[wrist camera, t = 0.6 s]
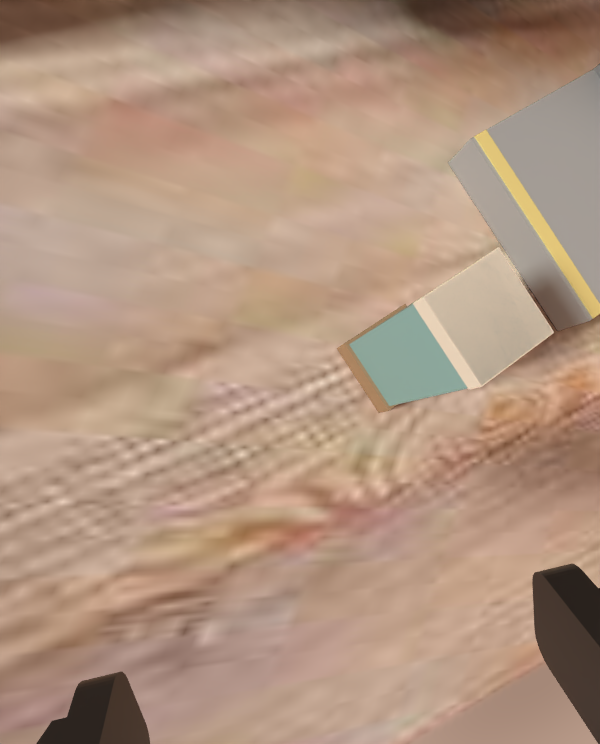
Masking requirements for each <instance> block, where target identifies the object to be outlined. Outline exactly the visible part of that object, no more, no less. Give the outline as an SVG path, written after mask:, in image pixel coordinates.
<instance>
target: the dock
mask: <svg viewBox="0 0 600 744" xmlns="http://www.w3.org/2000/svg"><path fill="white" fill-rule="evenodd" d="M448 164H449V165H450V167H451V168H452V170H453V171H454V173H455V174H456V176H457V178H458V179H459V181H460V182H461V184H462V185H463V187H464V188H465V190H466V191H467V193H468V194H469V196H470V197H471V199H472V201H473V202H474V204H475V205H476V207H477V208H478V210H479V211H480V213H481V214H482V216H483V217H484V219H485V220H486V222H487V224H488V225H489V227H490V228H491V230H492V231H493V233H494V234H495V236H496V237H497V239H498V240H499V242H500V243H501V245H502V247H503V248H504V250H505V251H506V253H507V254H508V256H509V257H510V259H511V260H512V262H513V263H514V265H515V266H516V268H517V270H518V271H519V273H520V274H521V276H522V277H523V279H524V280H525V282H526V283H527V285H528V286H529V288H530V289H531V291H532V293H533V294H534V296H535V297H536V299H537V300H538V302H539V303H540V305H541V306H542V308H543V309H544V311H545V312H546V314H547V316H548V317H549V319H550V320H551V322H552V323H553V325H554V326H555V328H556V329H557V331H560V330H563V329H566V328H569V327H572V326H575V325H578V324H581V323H585V322H588V321H590V320H591V319H593V318H595V317H596V316H597V315H599V314H600V64H599V65H597V66H596V67H595V68H594V69H593V70H591V71H589V72H588V73H586V74H584V75H582V76H580V77H579V78H577V79H575V80H573V81H572V82H570V83H568V84H566V85H565V86H563V87H561V88H559V89H558V90H556V91H554V92H552V93H550V94H549V95H547V96H545V97H543V98H542V99H540V100H538V101H536V102H535V103H533V104H531V105H529V106H528V107H526V108H524V109H522V110H520V111H519V112H517V113H515V114H513V115H512V116H510V117H508V118H506V119H505V120H503V121H501V122H499V123H498V124H496V125H494V126H492V127H490V128H489V129H487V130H484V131H483V132H481V133H479V134H477V135H476V136H474V137H473V138H471V139H470V140H469V141H468V142H467V143H466V144H465V145H464V146H463V148H462V149H461V150H460V151H459V152H458V153H457V154H456V155H455V156H454V157H453V158H452V159H451V160H450V161H449V162H448Z"/></svg>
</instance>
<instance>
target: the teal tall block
mask: <svg viewBox="0 0 600 744" xmlns="http://www.w3.org/2000/svg"><path fill="white" fill-rule="evenodd" d="M553 333H554V331H553V330H552V328H551V327H550V325H549V324H548V322H547V321H546V319H545V317H544V316H543V314H542V313H541V311H540V310H539V308H538V307H537V305H536V304H535V302H534V301H533V299H532V298H531V296H530V294H529V293H528V291H527V290H526V288H525V287H524V285H523V284H522V282H521V281H520V279H519V278H518V276H517V275H516V273H515V272H514V270H513V268H512V267H511V265H510V264H509V262H508V261H507V259H506V258H505V256H504V255H503V253H502V252H501V250H500V249H499V247H498V248H497V249H495V250H493V251H492V252H490V253H489V254H487V255H486V256H484V257H483V258H481V259H479V260H478V261H476V262H475V263H473V264H472V265H470V266H469V267H467V268H466V269H464V270H463V271H461V272H460V273H458V274H457V275H455V276H454V277H452V278H450V279H449V280H447V281H446V282H444V283H443V284H441V285H440V286H438V287H437V288H435V289H434V290H432V291H431V292H429V293H428V294H426V295H425V296H423V297H421V298H420V299H418V300H417V301H415V302H414V303H412V304H410V305H409V306H406V304H404V305H403V306H401V307H400V308H398V309H397V310H395V311H394V312H392V313H390V314H389V315H387V316H386V317H384V318H383V319H381V320H380V321H378V322H377V323H375V324H374V325H372V326H371V327H369V328H367V329H366V330H364V331H363V332H361V333H360V334H358V335H357V336H355V337H354V338H352V339H351V340H349V341H348V342H346V343H344V344H343V345H341V346H340V347H338V348H337V349H338V351H339V353H340V354H341V356H342V357H343V359H344V360H345V362H346V363H347V365H348V366H349V368H350V369H351V371H352V372H353V374H354V376H355V377H356V379H357V380H358V382H359V383H360V385H361V386H362V388H363V389H364V391H365V392H366V394H367V395H368V397H369V399H370V400H371V402H372V403H373V405H374V406H375V408H376V409H377V411H378V412H379V413H380V412H385V411H389V410H390V409H392V408H393V407H395V406H396V405H397V404H401V403H405V402H410V401H414V400H419V399H423V398H428V397H432V396H436V395H441V394H445V393H450V392H454V391H459V390H463V389H467V388H468V389H469V390H470V389H474V388H479V387H482V386H483V385H485V384H486V383H487V382H489V381H490V380H491V379H493V378H494V377H495V376H497V375H498V374H499V373H501V372H502V371H503V370H505V369H506V368H507V367H509V366H510V365H511V364H513V363H514V362H516V361H517V360H518V359H520V358H521V357H522V356H524V355H525V354H526V353H528V352H529V351H530V350H532V349H533V348H534V347H536V346H537V345H538V344H540V343H541V342H542V341H544V340H545V339H546V338H548V337H549V336H550V335H552V334H553Z"/></svg>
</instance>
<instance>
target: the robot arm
mask: <svg viewBox="0 0 600 744" xmlns="http://www.w3.org/2000/svg"><path fill="white" fill-rule="evenodd" d="M533 603H534V625H535V635H536V639H537V643H538V646H539V649H540V651H541V654H542V656H543V658H544V660H545V662H546V664H547V666H548V667H549V669H550V670H551V672H552V673H553V675H554V676H555V678H556V680H557V681H558V683H559V684H560V686H561V687H562V689H563V690H564V692H565V693H566V695H567V696H568V698H569V699H570V701H571V703H572V704H573V706H574V707H575V709H576V710H577V712H578V713H579V715H580V716H581V718H582V719H583V721H584V722H585V724H586V726H587V727H588V729H589V730H590V732H591V733H592V735H593V736H594V738H595V739H596V741H597V742H598V744H600V588H597V586H596V585H595V584H594V583H593V582H592V581H591V580H590V579H589V578H588V576H587V575H586V574H585V573H584V572H583V571H582V570H581V569H580V568H579V567H578V566H576V565H575V564H568V565H564V566H560V567H556V568H552V569H548V570H544V571H540V572H535V573H534V575H533ZM37 744H150V739H149V733H148V729H147V725H146V723H145V720H144V718H143V715H142V713H141V711H140V708H139V706H138V703H137V701H136V698H135V696H134V694H133V691H132V689H131V686H130V684H129V681H128V679H127V677H126V675H125V674H124V673H123V672H118V673H114V674H109V675H105V676H101V677H97V678H93V679H89V680H85V681H81V682H80V683H79V684H78V686H77V688H76V690H75V693H74V696H73V700H72V703H71V706H70V709H69V713H68V716H67V717H66V718H62V719H58V720H54V721H52V722H51V723H50V725H49V726H48V728H47V729H46V731H45V732H44V733H43V735H42V736H41V738H40V739H39V741H38V742H37Z"/></svg>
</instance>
